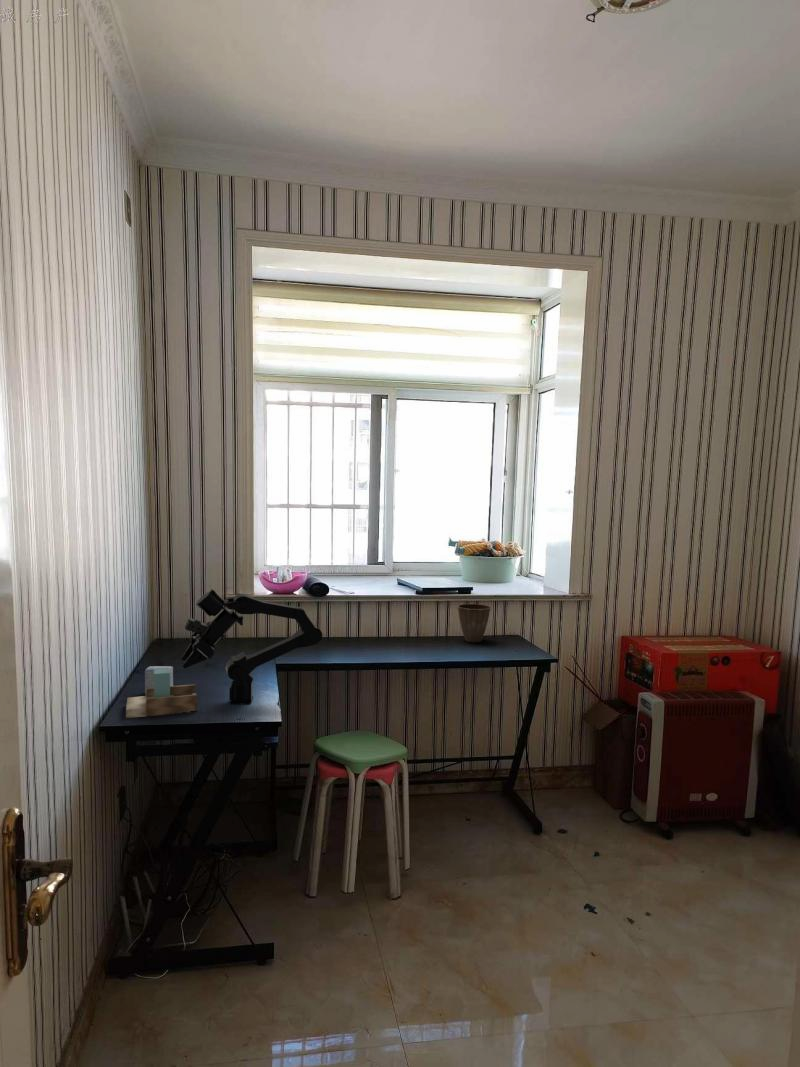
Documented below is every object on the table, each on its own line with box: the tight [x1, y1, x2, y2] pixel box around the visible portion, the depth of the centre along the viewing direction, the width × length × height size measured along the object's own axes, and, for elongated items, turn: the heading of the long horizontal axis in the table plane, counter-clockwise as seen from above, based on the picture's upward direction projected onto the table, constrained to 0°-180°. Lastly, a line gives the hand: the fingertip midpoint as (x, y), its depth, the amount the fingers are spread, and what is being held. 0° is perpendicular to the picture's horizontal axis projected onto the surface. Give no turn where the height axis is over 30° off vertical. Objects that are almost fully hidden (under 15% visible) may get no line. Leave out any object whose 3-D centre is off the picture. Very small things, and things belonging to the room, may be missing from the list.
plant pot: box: [457, 603, 491, 643], centre depth 303 cm, size 15×15×16 cm
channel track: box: [125, 683, 198, 719], centre depth 201 cm, size 20×12×5 cm, turn 110°
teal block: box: [154, 669, 170, 698], centre depth 201 cm, size 4×4×9 cm
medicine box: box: [144, 665, 174, 696], centre depth 216 cm, size 8×4×9 cm, turn 92°
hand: (182, 663), depth 203 cm, fingers open, 9 cm apart
